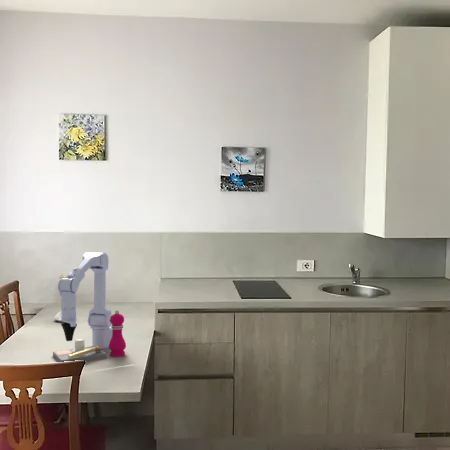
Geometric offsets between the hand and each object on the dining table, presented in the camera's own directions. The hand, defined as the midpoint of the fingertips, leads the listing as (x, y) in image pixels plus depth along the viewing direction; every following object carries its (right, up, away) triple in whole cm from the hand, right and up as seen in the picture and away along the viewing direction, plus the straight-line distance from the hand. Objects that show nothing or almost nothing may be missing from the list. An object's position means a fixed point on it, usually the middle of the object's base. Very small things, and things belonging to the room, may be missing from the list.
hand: (69, 340), depth 231 cm
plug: (+2, -9, +11) cm, 14 cm away
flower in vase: (-25, -6, +81) cm, 85 cm away
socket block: (+2, -10, +11) cm, 15 cm away
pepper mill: (+17, -10, +14) cm, 24 cm away
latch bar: (+5, -7, +5) cm, 10 cm away
